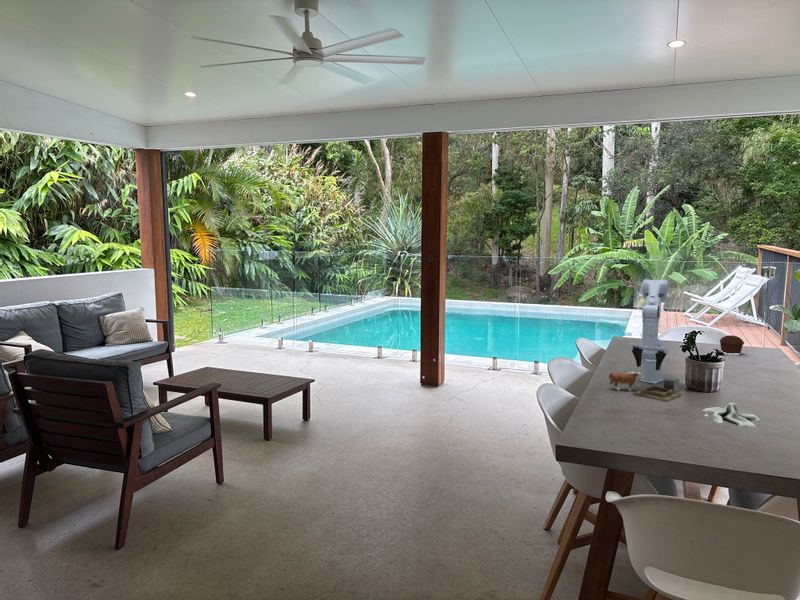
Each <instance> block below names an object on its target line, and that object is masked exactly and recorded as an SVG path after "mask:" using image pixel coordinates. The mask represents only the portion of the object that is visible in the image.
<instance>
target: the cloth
mask: <svg viewBox="0 0 800 600" xmlns="http://www.w3.org/2000/svg"><path fill="white" fill-rule="evenodd" d="M702 411H705V412H704V413H705V414H704V416H706V417H707V416H709V415H710V414H711V413H712V414H711V418H712V419H713V420H714V421H716V422H718V423H723V424H724V421H727V420H728V421H727V422H731V421H732V422H731V423H733V422H734V424H735V423H736V424H735V425H737V424H738V425H739V426H738V425H737V426H738V427H741V426H749V427H748V428H756V427H757V425H755V423H754V422H755V421H760V418H759V417H758V416H757V415H755V414H753V413H739V408H738V406H737V403H735V402H729V403H728V404H726V406H725V407H719V406H717V407H716V406H715V407H707V408H704V409H703V410H702ZM707 412H709V413H707ZM707 418H708V417H707ZM712 419H711V420H712ZM723 419H724V420H723ZM713 420H712V421H713ZM751 420H754V421H751ZM714 421H713V422H714ZM716 422H715V423H716ZM760 422H761V421H760ZM718 423H717V424H718ZM755 426H756V427H755Z"/></svg>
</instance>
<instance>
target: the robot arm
mask: <svg viewBox="0 0 800 600" xmlns="http://www.w3.org/2000/svg"><path fill="white" fill-rule="evenodd" d="M668 282H669V281H668V280H667V279H646V278H644V279H643V281H642V289H641V290H642V297H643V299H644V305H642V307H641V308H642V310H641V318H642V330H641V331H642V334H641V335H642V336H641V340H640V342H636V343H635V342H631V343H630V348H631V353H632V355H633V357H634V359H635V362H636V367H637V368H640V373H642V375H643V377H644V379H641V380H638V381H637V382H643V383H648V384H654V385H655V384H658V383H661V382H664V379H665V378H664V379H663V378H662V377H663V375H662V374H663V364H662V363H663V361H664V359H665V358H666V356H667V354H669V352H670V348H669V347H666V346H665V345H664V342H663V341H662V340H660V339H659V324H660V322H659V320H661V319H660V317H661V303H662V302H664V301H666V300H667V296H668V287H669V283H668Z"/></svg>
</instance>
